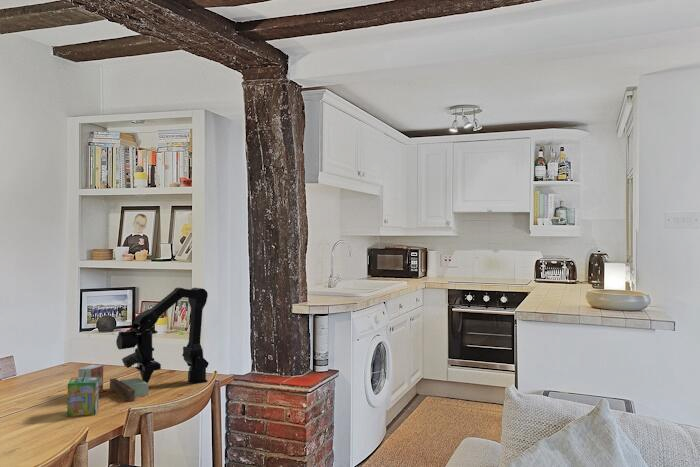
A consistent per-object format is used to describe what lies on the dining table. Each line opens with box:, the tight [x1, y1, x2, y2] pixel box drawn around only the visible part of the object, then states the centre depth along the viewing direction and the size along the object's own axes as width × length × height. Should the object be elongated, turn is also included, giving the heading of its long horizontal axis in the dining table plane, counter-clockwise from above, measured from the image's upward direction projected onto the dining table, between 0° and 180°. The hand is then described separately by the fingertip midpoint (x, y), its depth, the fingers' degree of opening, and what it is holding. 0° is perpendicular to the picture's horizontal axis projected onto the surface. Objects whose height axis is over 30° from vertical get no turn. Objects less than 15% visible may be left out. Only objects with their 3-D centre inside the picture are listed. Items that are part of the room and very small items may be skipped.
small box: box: [78, 364, 104, 394], centre depth 230 cm, size 8×6×10 cm
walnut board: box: [109, 377, 136, 403], centre depth 229 cm, size 2×24×4 cm, turn 38°
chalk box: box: [66, 369, 100, 418], centre depth 205 cm, size 9×9×15 cm
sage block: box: [119, 377, 149, 398], centre depth 231 cm, size 7×12×4 cm, turn 38°
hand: (145, 384), depth 234 cm, fingers closed, pressing on sage block
